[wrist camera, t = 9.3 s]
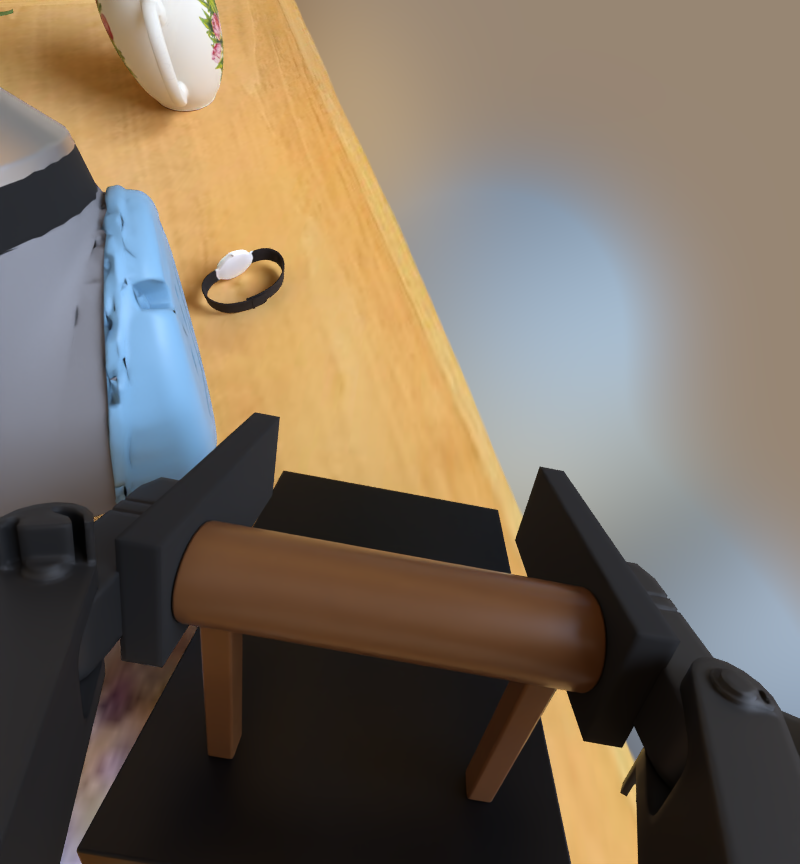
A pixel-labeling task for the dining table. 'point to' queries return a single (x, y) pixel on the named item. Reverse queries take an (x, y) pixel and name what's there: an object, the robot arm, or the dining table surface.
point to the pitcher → (169, 47)
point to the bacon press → (354, 693)
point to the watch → (237, 265)
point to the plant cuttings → (6, 12)
